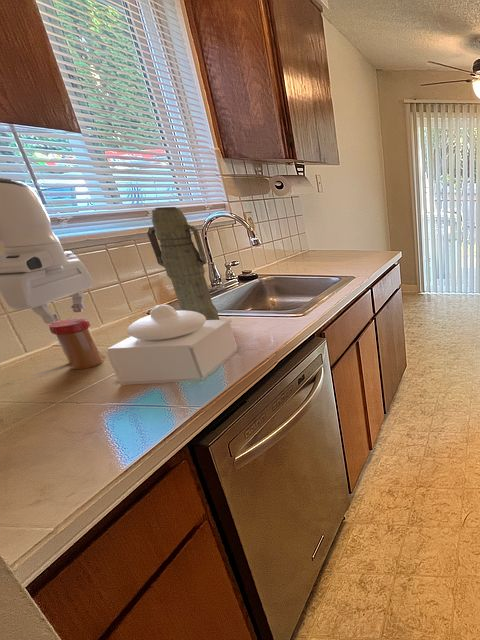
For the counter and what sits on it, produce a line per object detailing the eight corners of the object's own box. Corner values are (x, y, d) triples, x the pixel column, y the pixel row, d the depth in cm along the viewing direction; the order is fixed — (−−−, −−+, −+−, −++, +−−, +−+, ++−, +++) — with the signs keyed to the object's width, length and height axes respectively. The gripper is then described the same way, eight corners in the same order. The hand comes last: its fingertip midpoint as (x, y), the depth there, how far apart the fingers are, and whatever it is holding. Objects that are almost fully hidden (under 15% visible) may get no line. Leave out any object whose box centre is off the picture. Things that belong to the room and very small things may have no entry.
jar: (65, 367, 98) (45, 327, 93) (94, 358, 103) (76, 319, 98) (80, 370, 96) (61, 329, 91) (109, 361, 101) (91, 321, 96)
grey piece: (187, 329, 122) (146, 207, 107) (230, 325, 125) (196, 206, 110) (176, 339, 114) (130, 209, 99) (223, 335, 117) (184, 207, 102)
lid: (45, 332, 94) (41, 325, 93) (79, 323, 99) (76, 316, 99) (62, 335, 91) (59, 328, 91) (96, 326, 97) (93, 319, 96)
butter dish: (168, 353, 105) (147, 294, 98) (240, 350, 106) (223, 292, 99) (120, 385, 89) (90, 317, 82) (204, 380, 90) (181, 313, 83)
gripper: (58, 250, 97) (83, 305, 103) (-22, 267, 79) (14, 332, 85) (87, 249, 98) (110, 303, 104) (15, 265, 80) (48, 330, 86)
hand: (66, 316), depth 94 cm, fingers open, 7 cm apart
